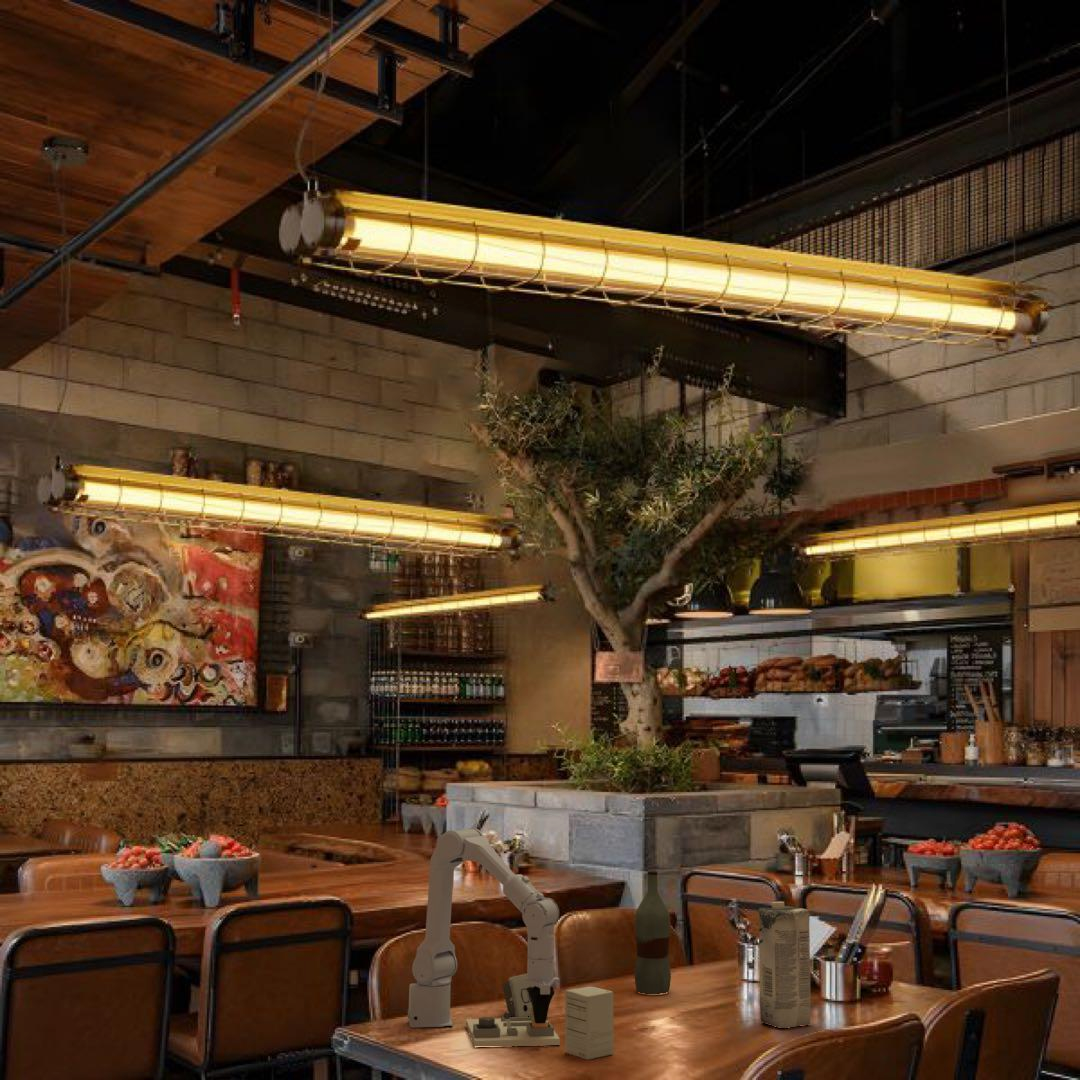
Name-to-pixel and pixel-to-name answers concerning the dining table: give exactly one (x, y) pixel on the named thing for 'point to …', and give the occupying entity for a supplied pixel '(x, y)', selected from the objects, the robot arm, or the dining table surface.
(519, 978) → the electrical switch
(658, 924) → the bottle
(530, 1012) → the brass slider
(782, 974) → the juice carton
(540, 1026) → the orange button
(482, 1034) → the control panel
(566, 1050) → the supplement box
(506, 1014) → the toggle lever
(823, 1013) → the dining table surface
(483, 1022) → the black button
